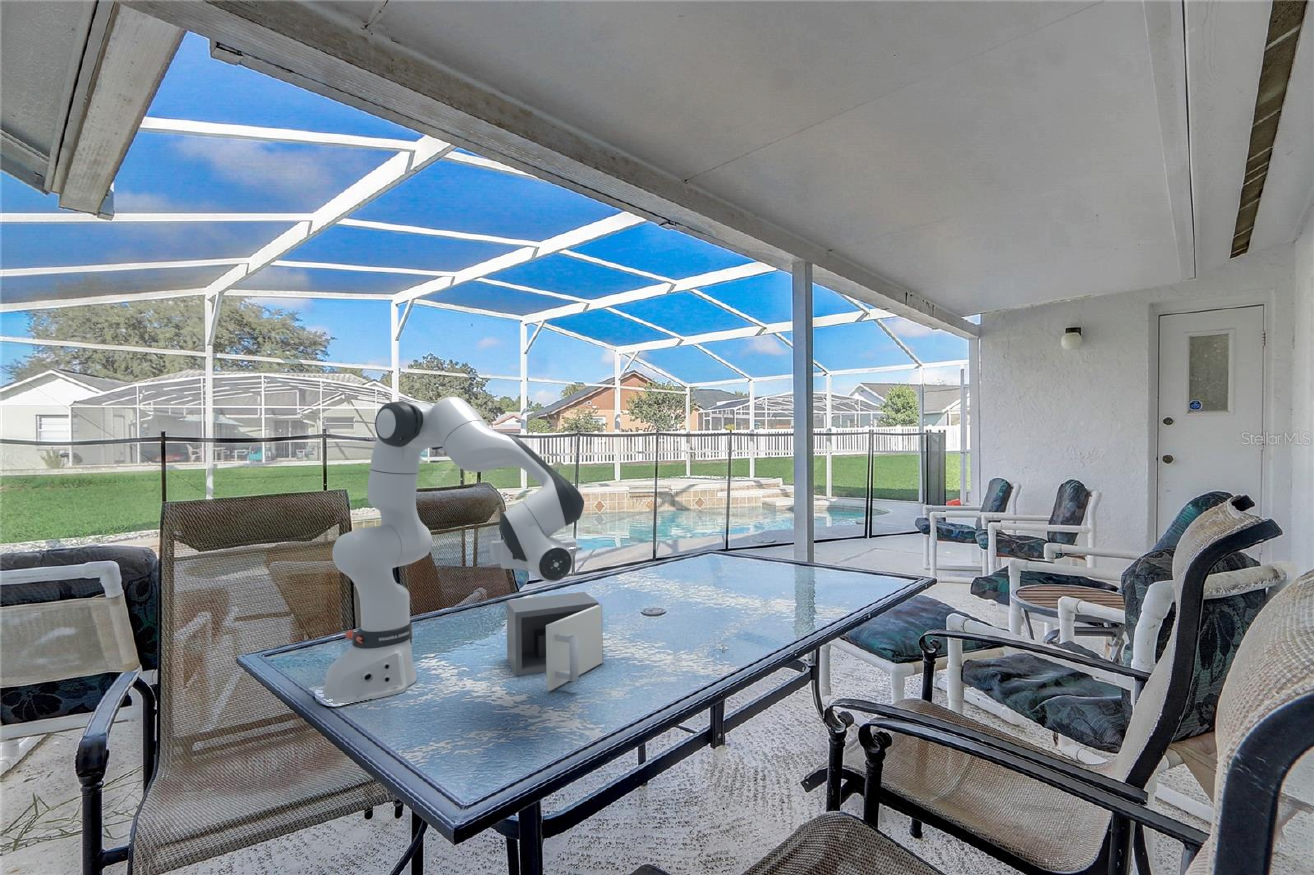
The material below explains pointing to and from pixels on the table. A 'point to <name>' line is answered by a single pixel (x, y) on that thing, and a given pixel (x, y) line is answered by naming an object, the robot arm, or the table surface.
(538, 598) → the box
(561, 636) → the door
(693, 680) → the table surface
